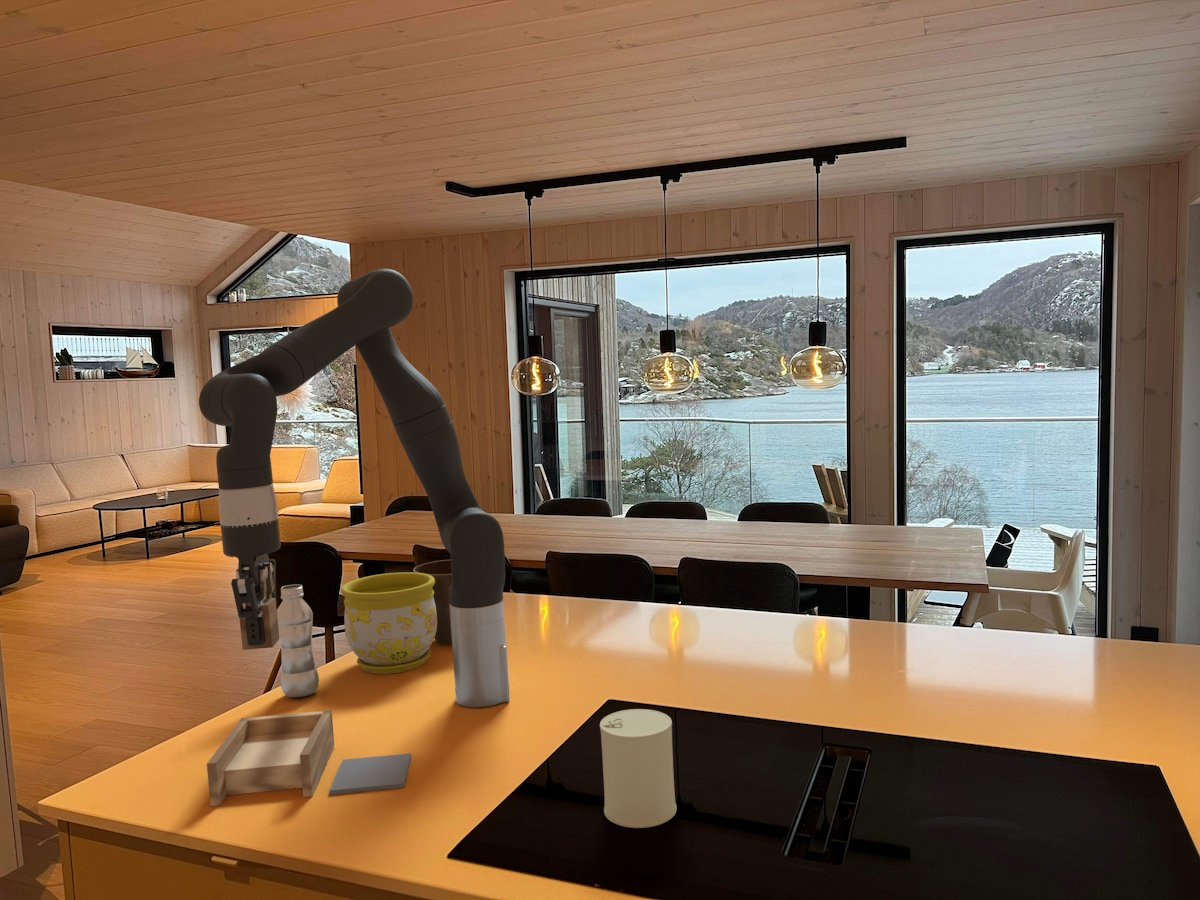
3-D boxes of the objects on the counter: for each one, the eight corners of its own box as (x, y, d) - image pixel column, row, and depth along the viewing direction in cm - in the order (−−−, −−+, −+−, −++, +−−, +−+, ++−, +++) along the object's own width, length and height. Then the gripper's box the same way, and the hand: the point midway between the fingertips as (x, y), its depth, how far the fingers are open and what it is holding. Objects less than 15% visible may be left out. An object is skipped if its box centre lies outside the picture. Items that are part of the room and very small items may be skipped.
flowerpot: (341, 659, 185) (335, 580, 183) (429, 644, 192) (423, 567, 190) (354, 685, 168) (347, 598, 167) (450, 668, 175) (444, 584, 174)
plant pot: (463, 625, 205) (459, 555, 203) (503, 638, 194) (498, 564, 192) (405, 641, 195) (400, 568, 193) (443, 655, 184) (438, 577, 182)
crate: (334, 748, 140) (331, 710, 140) (312, 796, 124) (308, 754, 124) (244, 756, 139) (241, 718, 138) (210, 806, 123) (206, 763, 122)
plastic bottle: (309, 702, 161) (299, 591, 159) (274, 701, 162) (264, 591, 161) (326, 689, 167) (318, 582, 165) (293, 688, 169) (284, 582, 167)
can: (601, 796, 120) (596, 708, 119) (670, 790, 120) (666, 702, 119) (607, 831, 111) (602, 736, 110) (682, 824, 111) (678, 729, 110)
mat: (411, 757, 135) (411, 753, 135) (403, 787, 125) (403, 783, 125) (342, 763, 134) (342, 759, 134) (329, 794, 124) (329, 790, 124)
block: (279, 638, 130) (275, 597, 129) (272, 647, 126) (268, 605, 125) (250, 641, 129) (246, 600, 129) (242, 650, 125) (238, 607, 125)
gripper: (263, 525, 119) (276, 652, 121) (289, 508, 133) (299, 623, 135) (204, 529, 119) (217, 658, 120) (236, 512, 133) (247, 627, 134)
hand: (261, 638), depth 128 cm, fingers closed on block, 4 cm apart
